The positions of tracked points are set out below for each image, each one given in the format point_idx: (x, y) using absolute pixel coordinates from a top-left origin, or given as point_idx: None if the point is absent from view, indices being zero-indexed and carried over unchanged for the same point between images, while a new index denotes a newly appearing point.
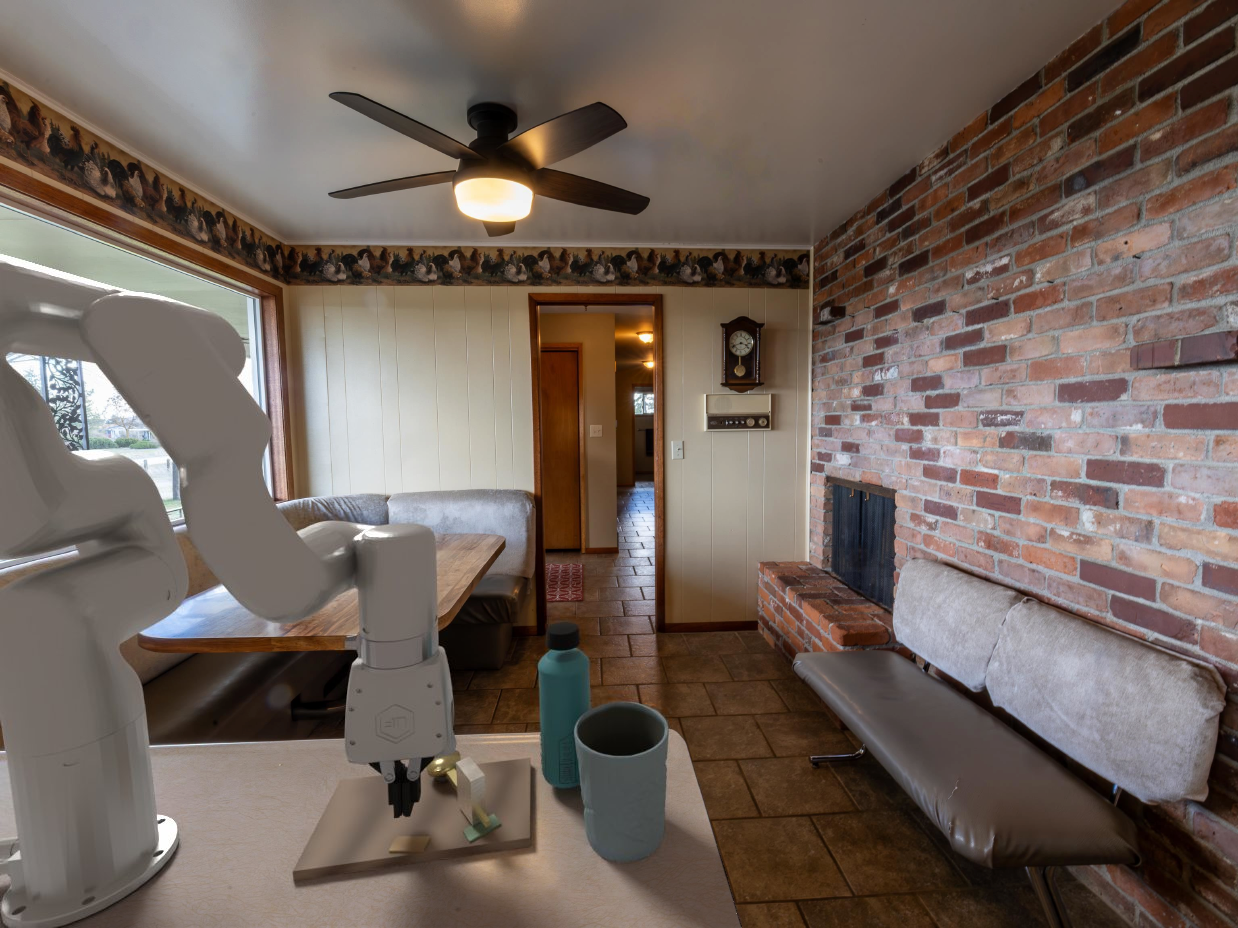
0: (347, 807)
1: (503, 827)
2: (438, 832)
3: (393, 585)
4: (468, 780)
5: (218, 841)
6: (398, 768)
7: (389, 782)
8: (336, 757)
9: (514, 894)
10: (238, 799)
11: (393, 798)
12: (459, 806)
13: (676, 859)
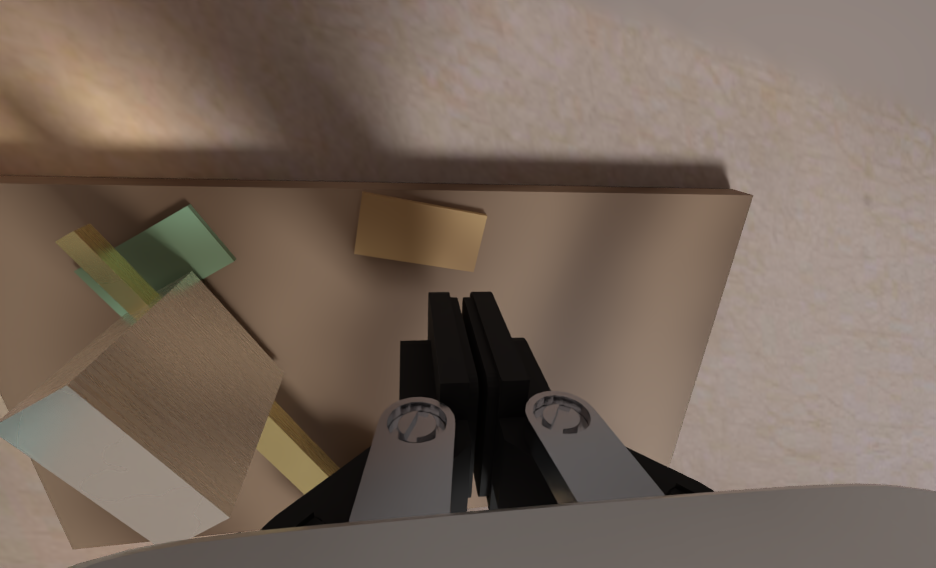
0: (633, 400)
1: (62, 255)
2: (331, 271)
3: None
4: (101, 399)
5: (891, 342)
6: (517, 472)
7: (549, 392)
8: None
9: None
10: (857, 451)
11: (508, 333)
12: (274, 363)
13: None
